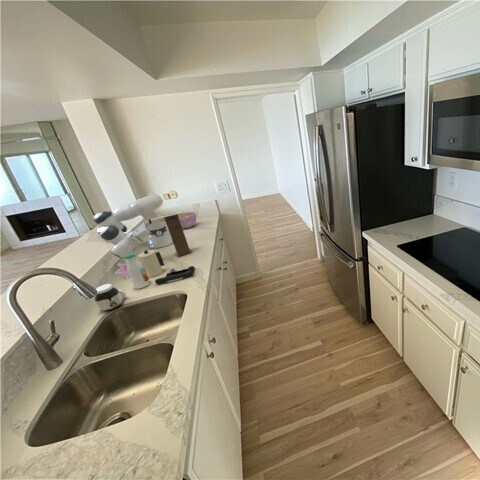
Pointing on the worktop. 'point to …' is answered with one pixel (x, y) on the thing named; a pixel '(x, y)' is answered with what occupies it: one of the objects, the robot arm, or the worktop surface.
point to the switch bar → (161, 219)
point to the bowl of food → (188, 220)
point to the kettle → (151, 262)
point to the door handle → (176, 275)
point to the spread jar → (109, 297)
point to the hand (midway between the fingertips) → (152, 222)
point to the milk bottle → (136, 272)
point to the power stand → (177, 235)
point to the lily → (123, 269)
